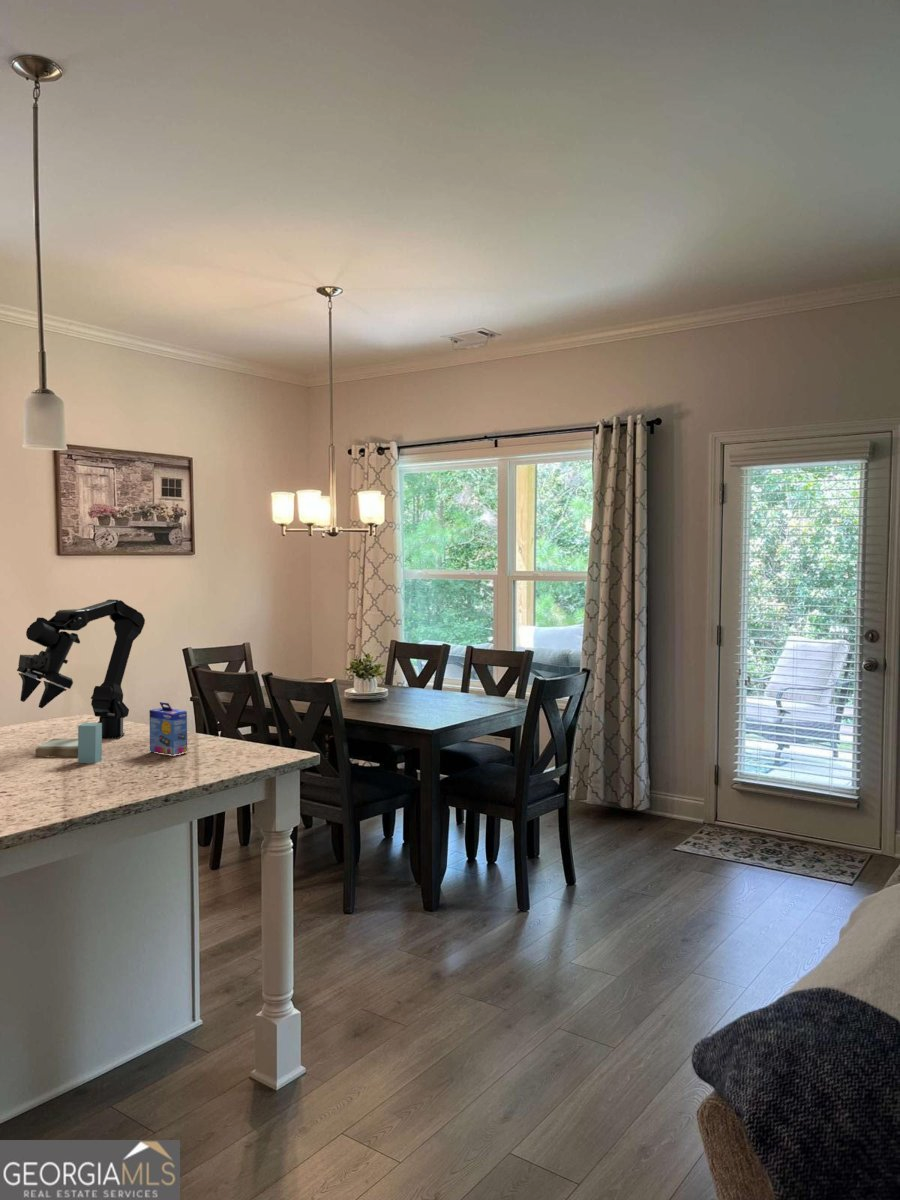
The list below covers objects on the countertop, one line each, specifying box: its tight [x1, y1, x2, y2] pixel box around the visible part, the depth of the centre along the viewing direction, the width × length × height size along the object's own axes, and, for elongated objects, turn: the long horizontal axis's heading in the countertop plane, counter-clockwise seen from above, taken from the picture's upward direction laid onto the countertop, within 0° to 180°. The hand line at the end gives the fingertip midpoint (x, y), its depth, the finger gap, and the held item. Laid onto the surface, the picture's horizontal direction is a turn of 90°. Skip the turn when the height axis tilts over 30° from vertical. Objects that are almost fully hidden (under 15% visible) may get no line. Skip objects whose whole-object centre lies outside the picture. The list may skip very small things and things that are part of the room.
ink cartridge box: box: [149, 702, 188, 755], centre depth 242 cm, size 10×6×14 cm, turn 59°
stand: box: [35, 738, 78, 758], centre depth 241 cm, size 12×12×3 cm
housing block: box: [77, 722, 103, 764], centre depth 230 cm, size 4×4×10 cm
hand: (31, 704), depth 239 cm, fingers open, 9 cm apart
